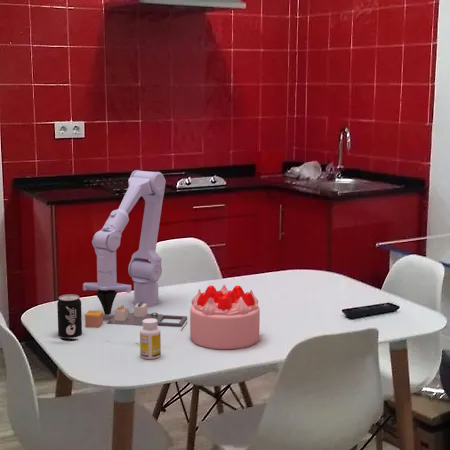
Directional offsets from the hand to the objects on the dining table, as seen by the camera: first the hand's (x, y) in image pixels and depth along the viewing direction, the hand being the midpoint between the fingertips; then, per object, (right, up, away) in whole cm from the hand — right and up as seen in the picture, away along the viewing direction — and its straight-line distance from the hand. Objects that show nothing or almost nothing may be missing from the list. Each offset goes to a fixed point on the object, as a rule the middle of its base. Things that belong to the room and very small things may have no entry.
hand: (107, 314), depth 230 cm
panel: (+8, -3, 0) cm, 9 cm away
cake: (+35, -6, -14) cm, 38 cm away
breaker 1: (+4, -1, 0) cm, 4 cm away
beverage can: (-8, -5, -15) cm, 18 cm away
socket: (+19, -3, -3) cm, 20 cm away
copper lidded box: (-3, -4, -7) cm, 8 cm away
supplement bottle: (+16, -8, -28) cm, 34 cm away
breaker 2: (+10, -1, +4) cm, 10 cm away
